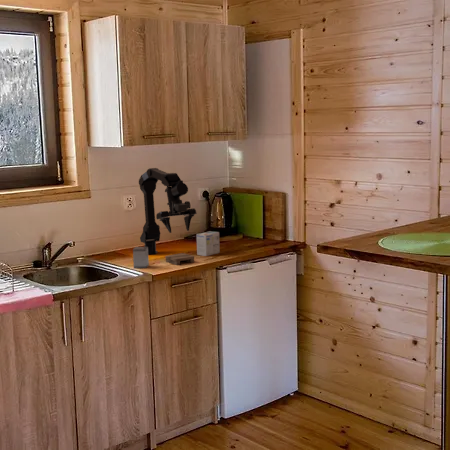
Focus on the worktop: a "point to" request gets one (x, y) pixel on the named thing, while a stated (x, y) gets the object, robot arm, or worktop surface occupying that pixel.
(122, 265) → the worktop surface
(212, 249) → the light bulb box
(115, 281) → the worktop surface
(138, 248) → the block
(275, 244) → the worktop surface
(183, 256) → the walnut stand
